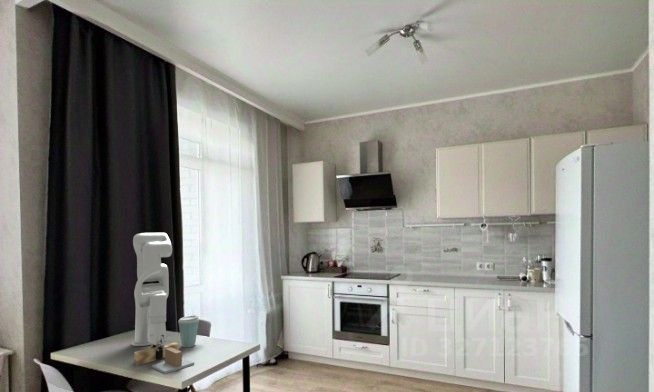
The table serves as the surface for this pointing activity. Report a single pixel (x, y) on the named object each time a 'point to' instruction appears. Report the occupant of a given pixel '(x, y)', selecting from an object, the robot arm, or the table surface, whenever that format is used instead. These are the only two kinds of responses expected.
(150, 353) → the oak bar
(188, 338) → the disposable coffee cup
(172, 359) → the stand
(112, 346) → the table surface
